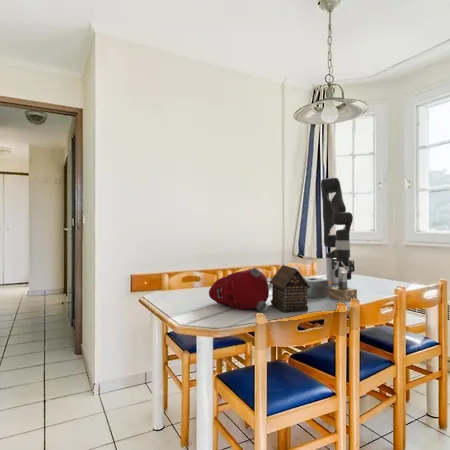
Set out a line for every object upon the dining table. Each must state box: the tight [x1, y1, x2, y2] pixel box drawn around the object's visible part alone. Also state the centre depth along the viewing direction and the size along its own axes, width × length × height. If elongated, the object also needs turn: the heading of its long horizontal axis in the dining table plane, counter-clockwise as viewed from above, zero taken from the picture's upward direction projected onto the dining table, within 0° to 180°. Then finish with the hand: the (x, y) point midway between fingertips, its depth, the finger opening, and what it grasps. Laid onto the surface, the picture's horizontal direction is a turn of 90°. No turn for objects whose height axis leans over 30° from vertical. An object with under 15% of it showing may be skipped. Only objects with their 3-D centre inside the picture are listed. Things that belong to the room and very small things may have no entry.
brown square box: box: [329, 286, 358, 302], centre depth 185 cm, size 10×10×5 cm
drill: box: [338, 271, 348, 290], centre depth 185 cm, size 3×3×14 cm
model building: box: [269, 264, 310, 313], centre depth 166 cm, size 18×14×20 cm
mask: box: [208, 267, 270, 312], centre depth 170 cm, size 20×26×30 cm
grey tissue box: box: [303, 276, 338, 299], centre depth 194 cm, size 20×12×9 cm, turn 116°
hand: (342, 278), depth 185 cm, fingers open, 8 cm apart
